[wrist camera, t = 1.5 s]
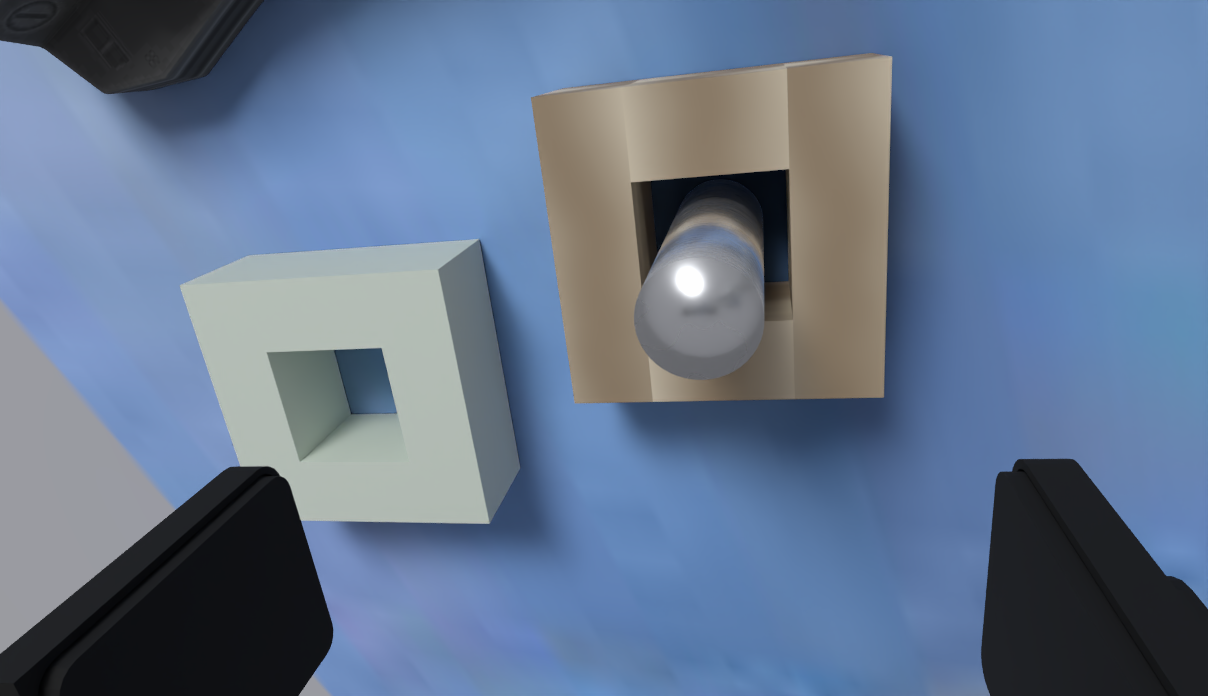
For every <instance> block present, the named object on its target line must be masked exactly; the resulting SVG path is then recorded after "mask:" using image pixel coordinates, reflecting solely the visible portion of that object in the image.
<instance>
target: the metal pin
mask: <svg viewBox="0 0 1208 696" xmlns="http://www.w3.org/2000/svg"><path fill="white" fill-rule="evenodd" d="M634 326H635V331H636V335H637V338H638V340H639V342H640V344H641V346H642V348H643V350H644V351H645V353H646V354H647V355H648V356H649V357H650V359H651V360H652V361H654V362H655V363H656V364H657V365H658V366H660V367H661V368H662V369H664V370H666V371H667V372H669V373H671V374H674V375H676V376H679V377H683V378H686V379H693V380H708V379H714V378H719V377H722V376H725V375H727V374H730V373H732V372H734V371H735V370H737V369H738V368H740V367H741V366H742V365H744V364H745V363H746V362H747V361H748V360H749V359H750V358H751V357H752V355H753V354H754V352H755V351H756V349H757V347H758V345H759V343H760V341H761V338H762V335H763V330H764V239H763V213H762V209H761V206H760V203H759V201H758V200H757V198H756V197H755V195H754V194H753V193H752V192H751V191H750V190H749V189H748V188H747V187H745V186H744V185H742V184H740V183H738V182H735V181H732V180H727V179H715V180H710V181H706V182H704V183H701V184H699V185H698V186H696V187H695V188H693V189H692V190H691V191H690V192H689V193H688V194H687V195H686V197H685V198H684V200H683V201H682V203H681V205H680V207H679V209H678V212H677V214H676V216H675V218H674V220H673V222H672V224H671V226H670V229H669V231H668V233H667V235H666V237H665V239H664V241H663V244H662V246H661V248H660V250H659V252H658V254H657V256H656V259H655V261H654V263H653V265H652V267H651V269H650V271H649V274H648V276H647V278H646V280H645V282H644V284H643V286H642V288H641V291H640V293H639V295H638V298H637V300H636V304H635V309H634Z"/></svg>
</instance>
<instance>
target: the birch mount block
mask: <svg viewBox="0 0 1208 696" xmlns="http://www.w3.org/2000/svg"><path fill="white" fill-rule="evenodd" d="M891 80H892V57H890V56H885V55H879V54H874V53H868V54H860V55H851V56H842V57H833V58H825V59H816V60H807V61H798V62H790V63H781V64H772V65H763V66H755V67H746V68H737V69H729V70H720V71H711V72H702V73H694V74H685V75H676V76H667V77H659V78H650V79H641V80H632V81H624V82H615V83H606V84H598V85H589V86H580V87H571V88H563V89H560V90H556V91H553V92H549V93H545V94H542V95H538V96H535V97H531V101H532V108H533V115H534V122H535V129H536V136H537V143H538V150H539V157H540V164H541V171H542V178H543V185H544V192H545V199H546V206H547V213H548V220H549V227H550V233H551V240H552V247H553V254H554V261H555V268H556V275H557V282H558V289H559V296H560V303H561V310H562V317H563V324H564V331H565V338H566V345H567V352H568V359H569V366H570V373H571V380H572V387H573V394H574V401H575V403H618V402H671V401H723V400H776V399H829V398H882V397H884V369H885V327H886V286H887V245H888V204H889V162H890V121H891ZM784 169H786V199H787V238H788V277H789V281H783V282H764V330H763V335H762V338H761V341H760V343H759V345H758V347H757V349H756V351H755V352H754V354H753V355H752V357H751V358H750V359H749V360H748V361H747V362H746V363H745V364H744V365H742V366H741V367H740V368H738V369H737V370H735V371H734V372H732V373H730V374H727V375H725V376H722V377H719V378H714V379H708V380H693V379H686V378H683V377H679V376H676V375H674V374H671V373H669V372H667V371H666V370H664V369H662V368H661V367H660V366H658V365H657V364H656V363H655V362H654V361H652V360H651V359H650V357H649V356H648V355H647V354H646V353H645V351H644V350H643V348H642V346H641V344H640V342H639V340H638V338H637V335H636V331H635V326H634V309H635V304H636V300H637V298H638V295H639V293H640V291H641V288H642V286H643V284H644V282H645V280H646V278H647V276H648V274H649V271H650V269H651V267H652V265H653V263H654V261H655V259H656V256H657V245H656V234H655V223H654V212H653V201H652V190H651V181H654V180H665V179H677V178H689V177H701V176H713V175H725V174H737V173H748V172H760V171H772V170H784Z"/></svg>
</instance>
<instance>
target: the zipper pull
mask: <svg viewBox="0 0 1208 696" xmlns="http://www.w3.org/2000/svg"><path fill="white" fill-rule="evenodd" d="M263 1H264V0H0V40H1V41H7V42H13V43H20V44H26V45H32V46H39V47H41V48H44V49H46V50H47V51H48V52H50V53H51V54H52V55H54V56H55V57H56V58H58V59H59V60H60V61H62V62H63V63H64V64H66V65H67V66H68V67H70V68H71V69H72V70H73V71H75V72H76V73H77V74H79V75H80V76H81V77H83V78H84V79H85V80H87V81H88V82H89V83H91V84H92V85H93V86H95V87H96V88H97V89H99V90H100V91H101V92H103V93H106V94H115V93H126V92H136V91H147V90H153V89H157V88H161V87H165V86H169V85H173V84H177V83H181V82H185V81H189V80H193V79H197V78H201V77H204V76H206V75H207V74H209V72H210V71H211V70H212V68H213V67H214V66H215V64H216V63H217V62H218V60H219V59H220V58H221V56H222V55H223V54H224V52H225V51H226V50H227V48H228V47H229V46H230V44H231V43H232V42H233V40H234V39H235V38H236V36H237V35H238V34H239V32H240V31H241V30H242V28H243V27H244V26H245V24H246V23H247V22H248V20H249V19H250V18H251V16H252V15H253V14H254V13H255V11H256V10H257V9H258V7H259V6H260V5H261V4H262V2H263Z"/></svg>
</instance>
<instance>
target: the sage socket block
mask: <svg viewBox="0 0 1208 696" xmlns="http://www.w3.org/2000/svg"><path fill="white" fill-rule="evenodd" d="M180 288H181V291H182V294H183V297H184V300H185V303H186V306H187V309H188V312H189V315H190V318H191V321H192V324H193V327H194V330H195V333H196V336H197V339H198V342H199V345H200V348H201V351H202V353H203V356H204V359H205V362H206V365H207V368H208V371H209V374H210V377H211V380H212V383H213V386H214V389H215V392H216V395H217V398H218V401H219V404H220V407H221V410H222V413H223V416H224V419H225V422H226V425H227V428H228V431H229V434H230V437H231V440H232V443H233V446H234V449H235V451H236V454H237V457H238V460H239V463H240V466H241V467H242V466H269V467H272V468H274V469H275V470H276V471H277V472H278V473H279V475H280V476H281V477H284V478H285V479H286V480H287V481H288V483H289V485H290V487H291V490H292V494H293V497H294V500H295V503H296V507H297V510H298V513H299V516H300V520H303V521H359V522H414V523H470V524H490V522H491V521H492V519H493V517H494V515H495V513H496V511H497V510H498V508H499V506H500V504H501V502H502V501H503V499H504V497H505V495H506V493H507V492H508V490H509V488H510V486H511V484H512V482H513V481H514V479H515V477H516V475H517V473H518V472H519V470H520V463H519V458H518V452H517V447H516V441H515V435H514V430H513V424H512V419H511V413H510V408H509V402H508V396H507V391H506V385H505V380H504V374H503V369H502V363H501V357H500V352H499V346H498V341H497V335H496V330H495V324H494V318H493V313H492V307H491V302H490V296H489V291H488V285H487V279H486V274H485V268H484V263H483V257H482V252H481V246H480V240H479V239H474V240H460V241H445V242H431V243H417V244H403V245H389V246H375V247H360V248H346V249H332V250H318V251H304V252H290V253H275V254H261V255H248V256H246V257H244V258H241V259H239V260H237V261H235V262H232V263H230V264H228V265H225V266H223V267H221V268H218V269H216V270H214V271H212V272H209V273H207V274H205V275H202V276H200V277H198V278H195V279H193V280H191V281H189V282H186V283H184V284H182V285H180ZM367 348H382V352H383V356H384V360H385V364H386V368H387V372H388V376H389V381H390V385H391V389H392V393H393V397H394V401H395V405H396V410H397V414H351V412H350V408H349V405H348V401H347V397H346V393H345V390H344V386H343V382H342V378H341V375H340V371H339V367H338V363H337V360H336V356H335V352H334V350H341V349H367Z"/></svg>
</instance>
